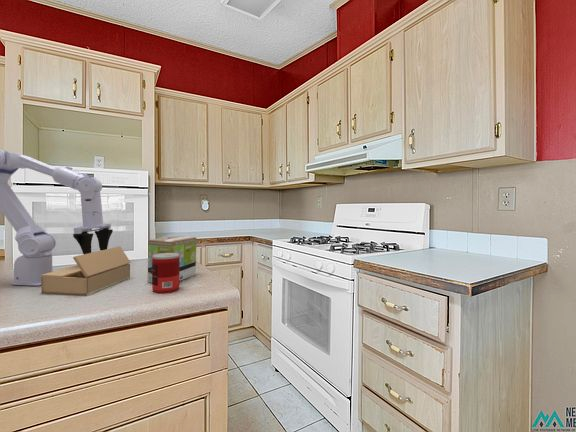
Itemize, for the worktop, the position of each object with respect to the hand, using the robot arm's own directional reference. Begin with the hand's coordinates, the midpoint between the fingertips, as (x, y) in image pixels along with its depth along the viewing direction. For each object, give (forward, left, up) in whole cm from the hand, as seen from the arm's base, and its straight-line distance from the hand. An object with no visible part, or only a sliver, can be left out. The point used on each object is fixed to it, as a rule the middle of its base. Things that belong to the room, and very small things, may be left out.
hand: (95, 252), depth 100 cm
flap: (+7, -6, -2) cm, 10 cm away
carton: (+3, -6, -10) cm, 12 cm away
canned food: (+29, -7, -10) cm, 31 cm away
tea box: (+25, +6, -10) cm, 27 cm away
